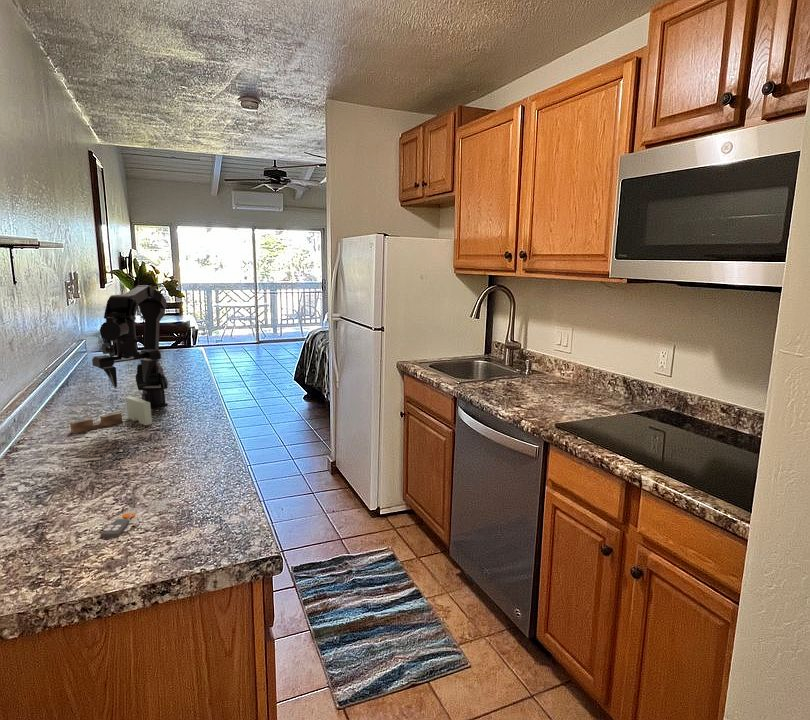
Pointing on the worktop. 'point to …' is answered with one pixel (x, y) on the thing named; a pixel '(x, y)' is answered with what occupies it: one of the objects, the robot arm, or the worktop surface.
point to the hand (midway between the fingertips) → (130, 384)
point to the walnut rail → (88, 423)
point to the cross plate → (138, 410)
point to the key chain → (117, 526)
